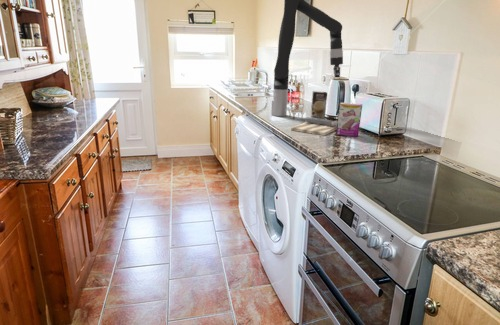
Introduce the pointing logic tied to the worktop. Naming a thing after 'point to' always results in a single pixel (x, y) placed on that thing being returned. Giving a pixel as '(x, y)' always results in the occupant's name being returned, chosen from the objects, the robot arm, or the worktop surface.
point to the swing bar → (321, 121)
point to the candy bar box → (349, 119)
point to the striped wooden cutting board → (314, 128)
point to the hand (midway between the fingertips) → (337, 83)
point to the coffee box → (318, 104)
